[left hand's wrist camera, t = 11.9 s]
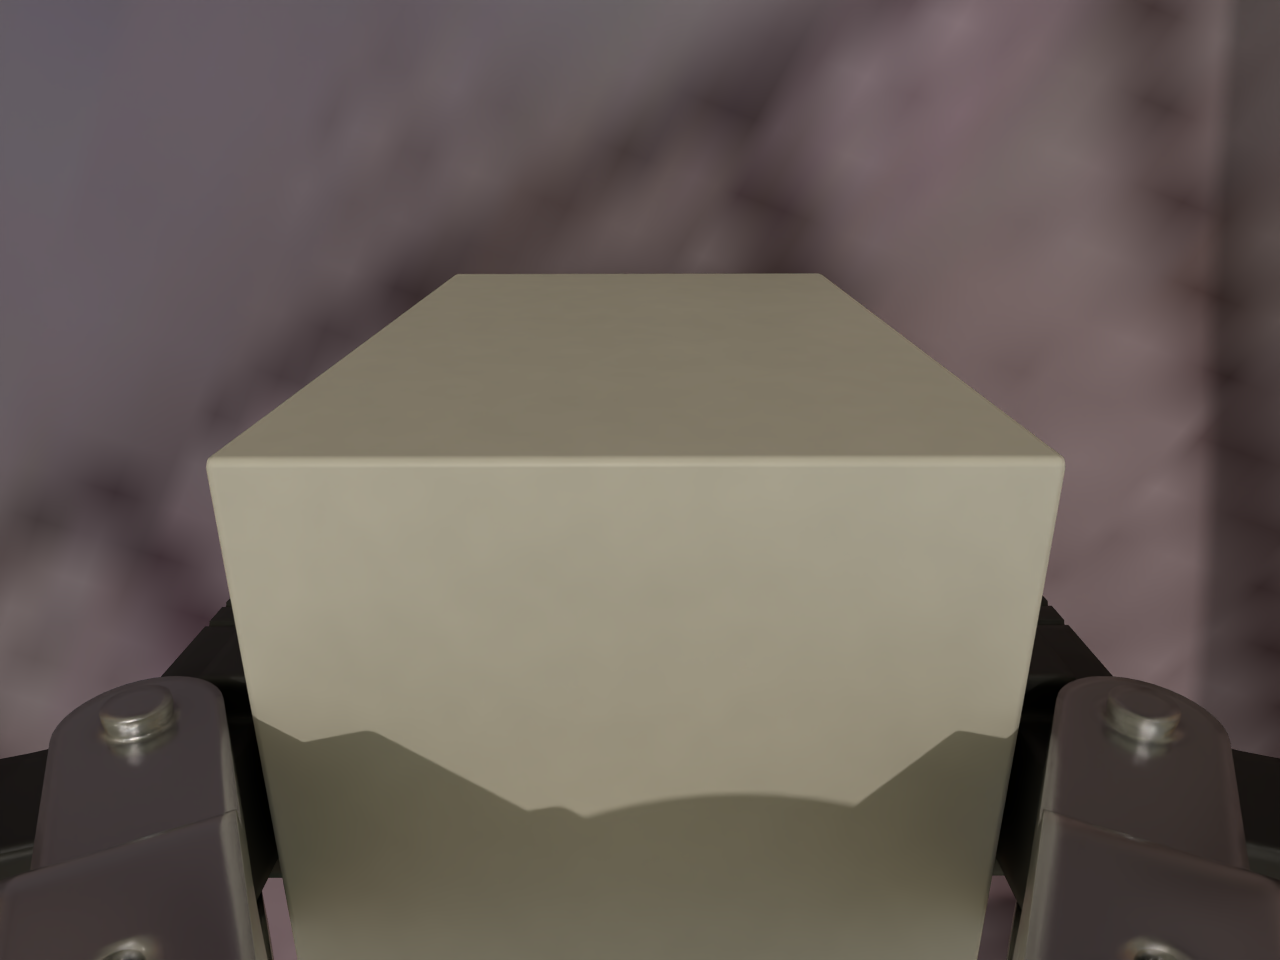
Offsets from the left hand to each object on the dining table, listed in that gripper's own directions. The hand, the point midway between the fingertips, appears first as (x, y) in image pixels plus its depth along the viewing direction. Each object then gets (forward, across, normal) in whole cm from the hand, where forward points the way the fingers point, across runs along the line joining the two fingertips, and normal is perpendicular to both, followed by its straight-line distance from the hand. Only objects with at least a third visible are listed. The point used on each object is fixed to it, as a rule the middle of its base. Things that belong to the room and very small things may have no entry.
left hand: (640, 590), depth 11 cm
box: (+5, 0, -10) cm, 11 cm away
